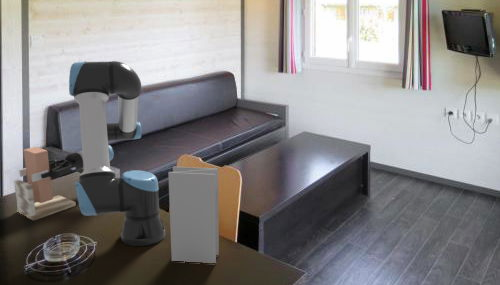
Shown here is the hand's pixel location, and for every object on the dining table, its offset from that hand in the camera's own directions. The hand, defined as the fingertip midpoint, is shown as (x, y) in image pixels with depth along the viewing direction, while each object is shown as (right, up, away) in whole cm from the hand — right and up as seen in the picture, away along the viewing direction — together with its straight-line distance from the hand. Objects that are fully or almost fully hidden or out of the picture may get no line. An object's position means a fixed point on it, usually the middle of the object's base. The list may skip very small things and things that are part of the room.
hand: (26, 175), depth 178 cm
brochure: (+67, -25, -27) cm, 76 cm away
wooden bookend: (+4, -14, +9) cm, 17 cm away
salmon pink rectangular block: (+3, -10, +7) cm, 12 cm away
